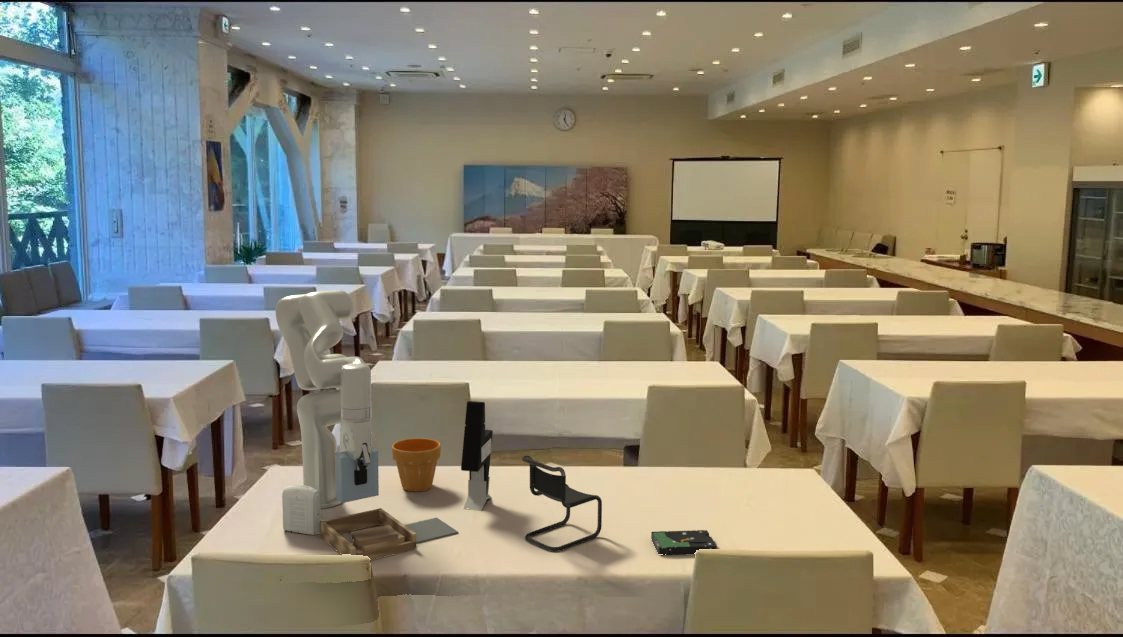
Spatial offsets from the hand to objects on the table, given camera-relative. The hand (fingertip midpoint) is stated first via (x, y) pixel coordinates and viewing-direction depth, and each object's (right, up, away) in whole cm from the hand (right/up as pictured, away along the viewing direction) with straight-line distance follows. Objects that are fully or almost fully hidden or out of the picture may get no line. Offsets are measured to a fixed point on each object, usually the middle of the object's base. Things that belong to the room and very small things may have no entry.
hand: (357, 480), depth 238 cm
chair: (+52, -15, +2) cm, 55 cm away
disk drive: (+83, -17, -3) cm, 85 cm away
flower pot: (+9, -9, +39) cm, 41 cm away
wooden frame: (+3, -15, -2) cm, 16 cm away
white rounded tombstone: (-15, -14, +5) cm, 21 cm away
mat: (+17, -14, +6) cm, 23 cm away
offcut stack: (+6, -16, -7) cm, 19 cm away
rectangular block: (0, -4, +1) cm, 4 cm away
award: (+28, -11, +26) cm, 40 cm away
